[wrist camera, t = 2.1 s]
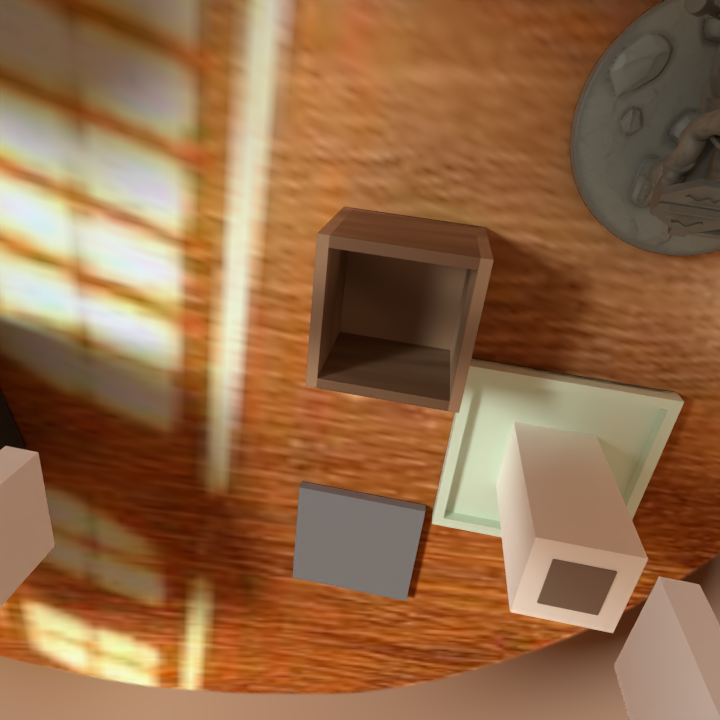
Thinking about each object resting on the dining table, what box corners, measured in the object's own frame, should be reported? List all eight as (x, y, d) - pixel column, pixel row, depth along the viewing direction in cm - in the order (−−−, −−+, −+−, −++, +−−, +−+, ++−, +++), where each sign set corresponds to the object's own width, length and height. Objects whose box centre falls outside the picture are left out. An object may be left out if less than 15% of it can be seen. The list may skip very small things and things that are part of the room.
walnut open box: (344, 206, 27) (317, 233, 22) (485, 227, 26) (493, 260, 21) (331, 335, 30) (305, 386, 25) (457, 356, 30) (459, 412, 24)
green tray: (467, 357, 30) (467, 365, 29) (677, 392, 29) (684, 401, 28) (432, 512, 34) (431, 523, 34) (610, 547, 33) (615, 559, 33)
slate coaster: (301, 481, 35) (299, 487, 34) (425, 505, 34) (425, 511, 34) (294, 570, 39) (292, 577, 38) (406, 594, 38) (406, 601, 37)
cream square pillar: (513, 421, 30) (536, 538, 22) (597, 436, 30) (651, 561, 22) (495, 486, 32) (509, 614, 24) (574, 500, 32) (614, 636, 24)
